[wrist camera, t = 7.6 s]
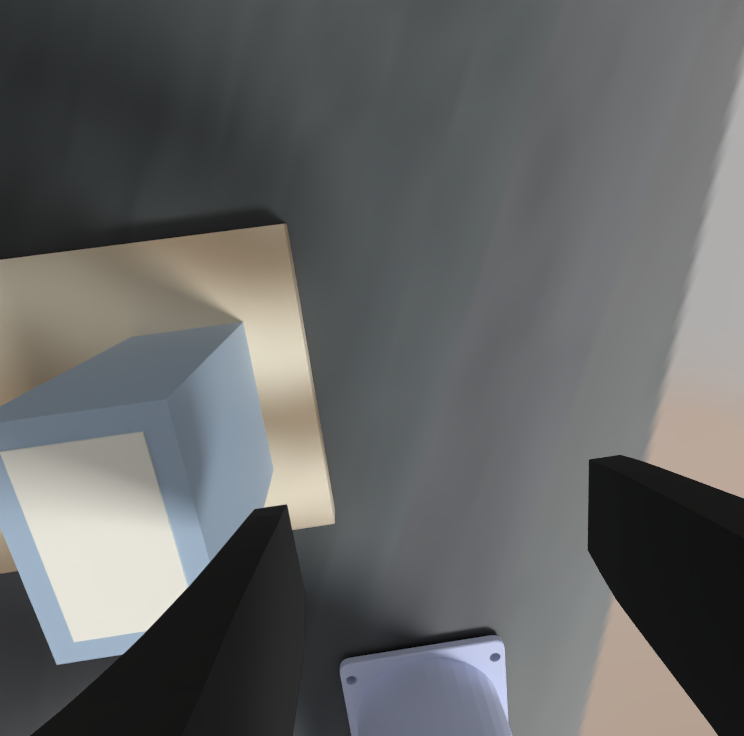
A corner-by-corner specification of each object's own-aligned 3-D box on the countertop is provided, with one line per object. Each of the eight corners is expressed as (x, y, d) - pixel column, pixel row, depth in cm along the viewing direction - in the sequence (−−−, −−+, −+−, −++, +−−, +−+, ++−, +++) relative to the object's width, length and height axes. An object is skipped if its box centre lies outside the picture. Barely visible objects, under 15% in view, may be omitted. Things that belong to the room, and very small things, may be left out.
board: (334, 509, 21) (334, 523, 20) (-40, 565, 20) (-59, 582, 19) (286, 223, 17) (283, 223, 16) (-169, 281, 16) (-200, 285, 16)
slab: (273, 469, 19) (229, 639, 11) (172, 484, 19) (55, 666, 11) (243, 322, 17) (165, 400, 9) (130, 336, 17) (-43, 429, 9)
